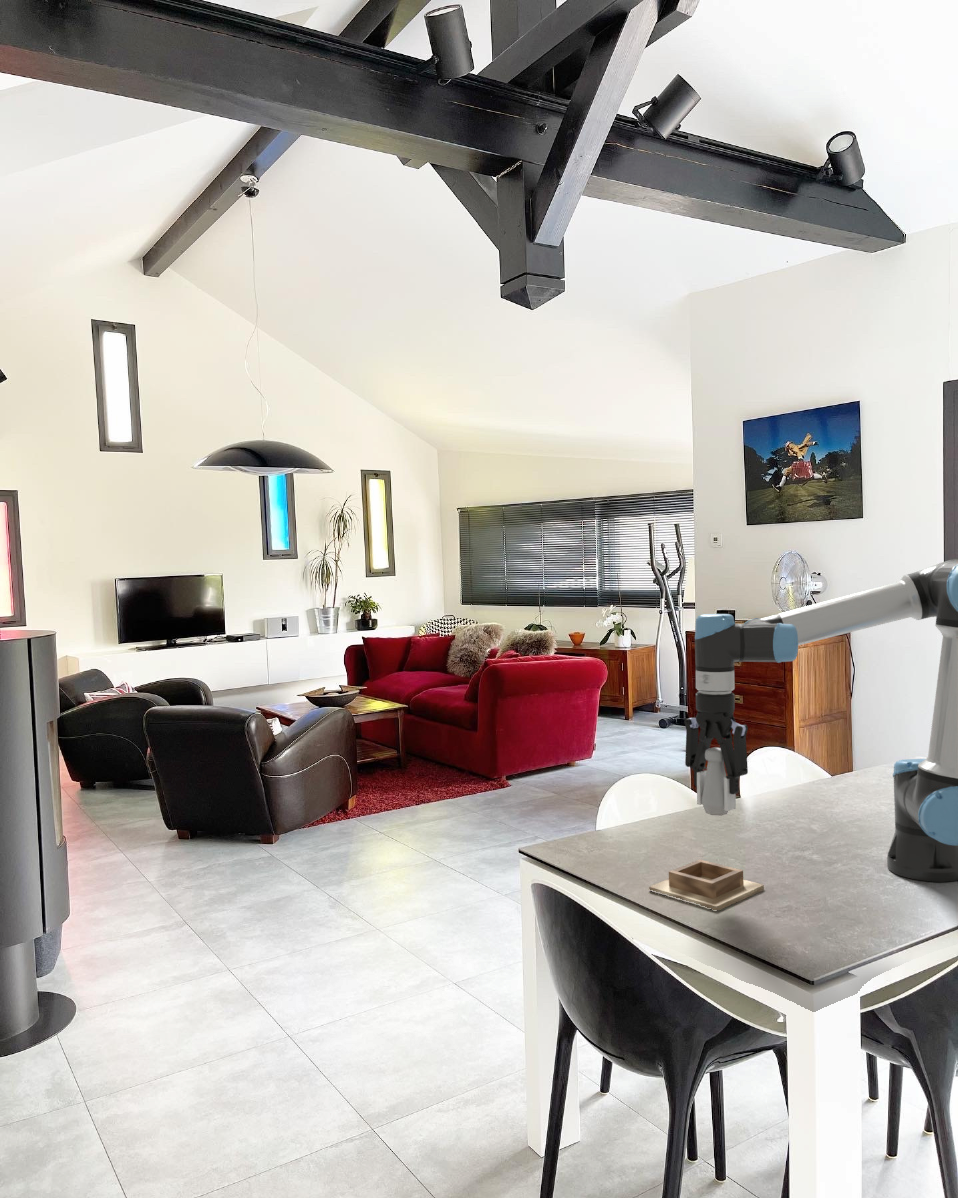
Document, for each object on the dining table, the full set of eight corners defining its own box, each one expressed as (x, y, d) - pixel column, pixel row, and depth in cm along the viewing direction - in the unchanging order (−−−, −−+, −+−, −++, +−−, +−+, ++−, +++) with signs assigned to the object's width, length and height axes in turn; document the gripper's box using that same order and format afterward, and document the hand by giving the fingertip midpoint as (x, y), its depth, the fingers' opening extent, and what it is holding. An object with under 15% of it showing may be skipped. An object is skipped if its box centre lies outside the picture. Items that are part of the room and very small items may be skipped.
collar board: (763, 889, 185) (763, 870, 185) (716, 911, 175) (715, 890, 175) (697, 872, 197) (696, 853, 197) (649, 891, 187) (648, 872, 187)
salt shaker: (709, 807, 190) (709, 744, 190) (736, 812, 187) (735, 747, 186) (696, 813, 186) (695, 749, 185) (723, 818, 182) (722, 752, 182)
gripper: (665, 689, 190) (666, 801, 191) (744, 698, 176) (745, 819, 176) (688, 685, 195) (689, 794, 196) (767, 694, 180) (768, 812, 181)
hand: (716, 806), depth 186 cm, fingers closed on salt shaker, 6 cm apart
